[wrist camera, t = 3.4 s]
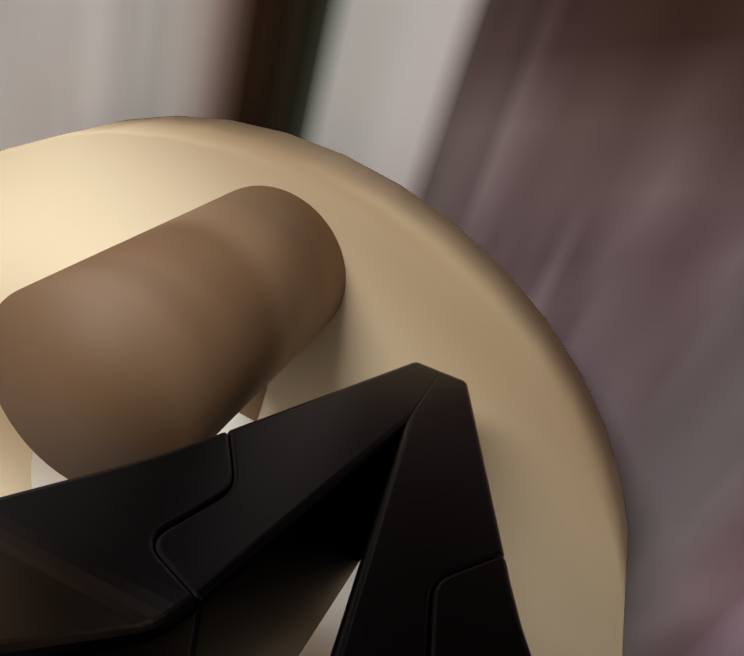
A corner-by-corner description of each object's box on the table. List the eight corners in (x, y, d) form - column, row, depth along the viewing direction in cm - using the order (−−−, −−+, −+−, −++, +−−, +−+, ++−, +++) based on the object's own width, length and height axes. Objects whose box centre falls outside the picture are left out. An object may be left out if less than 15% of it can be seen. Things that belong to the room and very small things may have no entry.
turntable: (435, 855, 18) (352, 1176, 13) (-57, 552, 20) (-282, 728, 16) (838, 380, 10) (1017, 757, 5) (-55, -28, 12) (-523, -44, 7)
